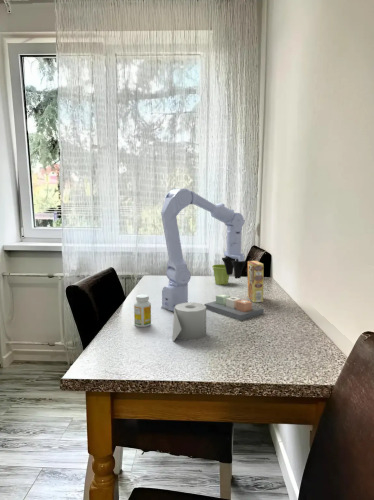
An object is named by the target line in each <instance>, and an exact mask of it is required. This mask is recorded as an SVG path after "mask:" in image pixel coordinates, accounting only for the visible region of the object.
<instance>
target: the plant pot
mask: <svg viewBox="0 0 374 500" xmlns="http://www.w3.org/2000/svg"><path fill="white" fill-rule="evenodd" d="M211 266H212V270H213V274H214V275H213V276H214V282H215V285H217V286H218V285H219V286H223V285H224V286H226V285H228V284H229V280H230V275H227V273H226V268H225V264H224V263H223V264H213V265H211Z"/></svg>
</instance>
